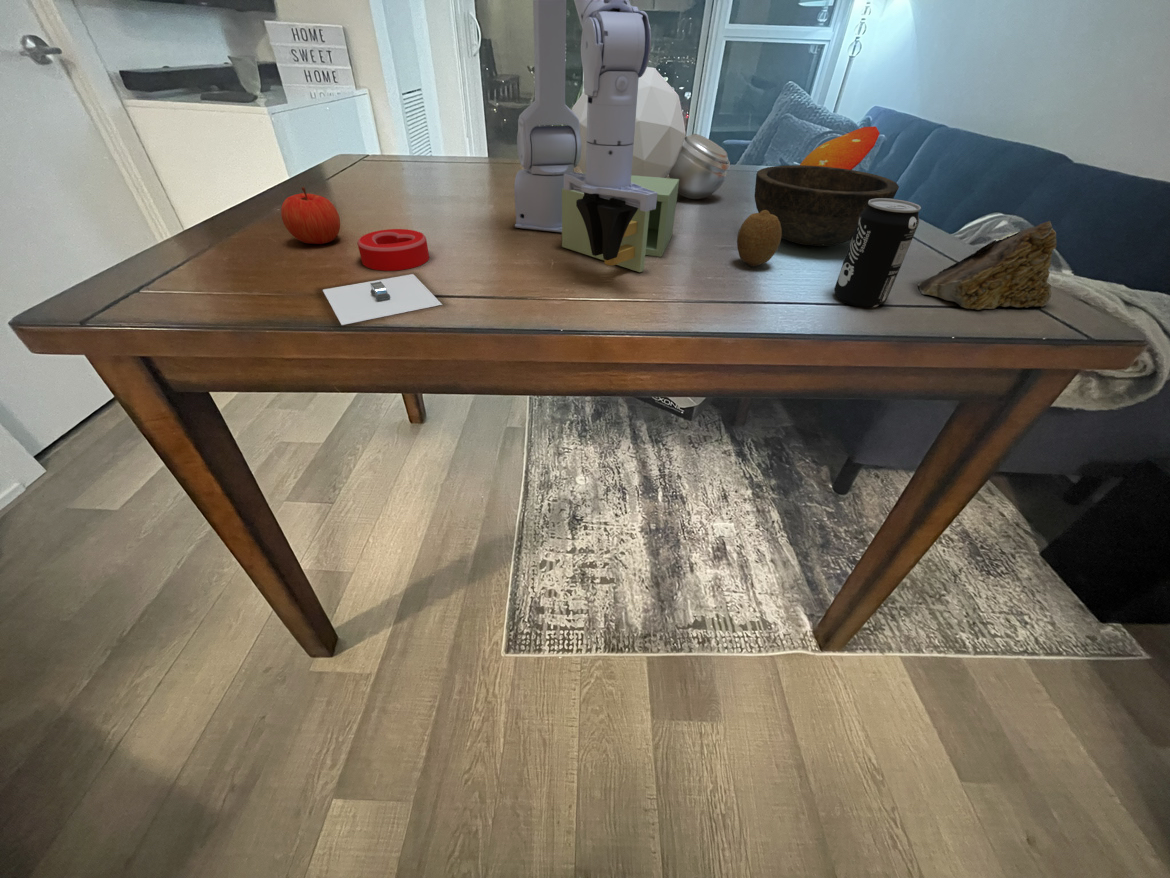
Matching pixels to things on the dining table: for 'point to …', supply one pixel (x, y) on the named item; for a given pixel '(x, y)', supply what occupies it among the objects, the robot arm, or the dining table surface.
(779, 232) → the fruit
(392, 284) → the white paper sheet
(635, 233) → the cupboard door
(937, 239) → the dining table surface
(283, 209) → the apple
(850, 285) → the beverage can
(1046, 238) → the mineral specimen
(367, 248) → the decorative ornament
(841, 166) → the decorative mushroom
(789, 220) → the bowl
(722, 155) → the lamp
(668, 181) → the cupboard
